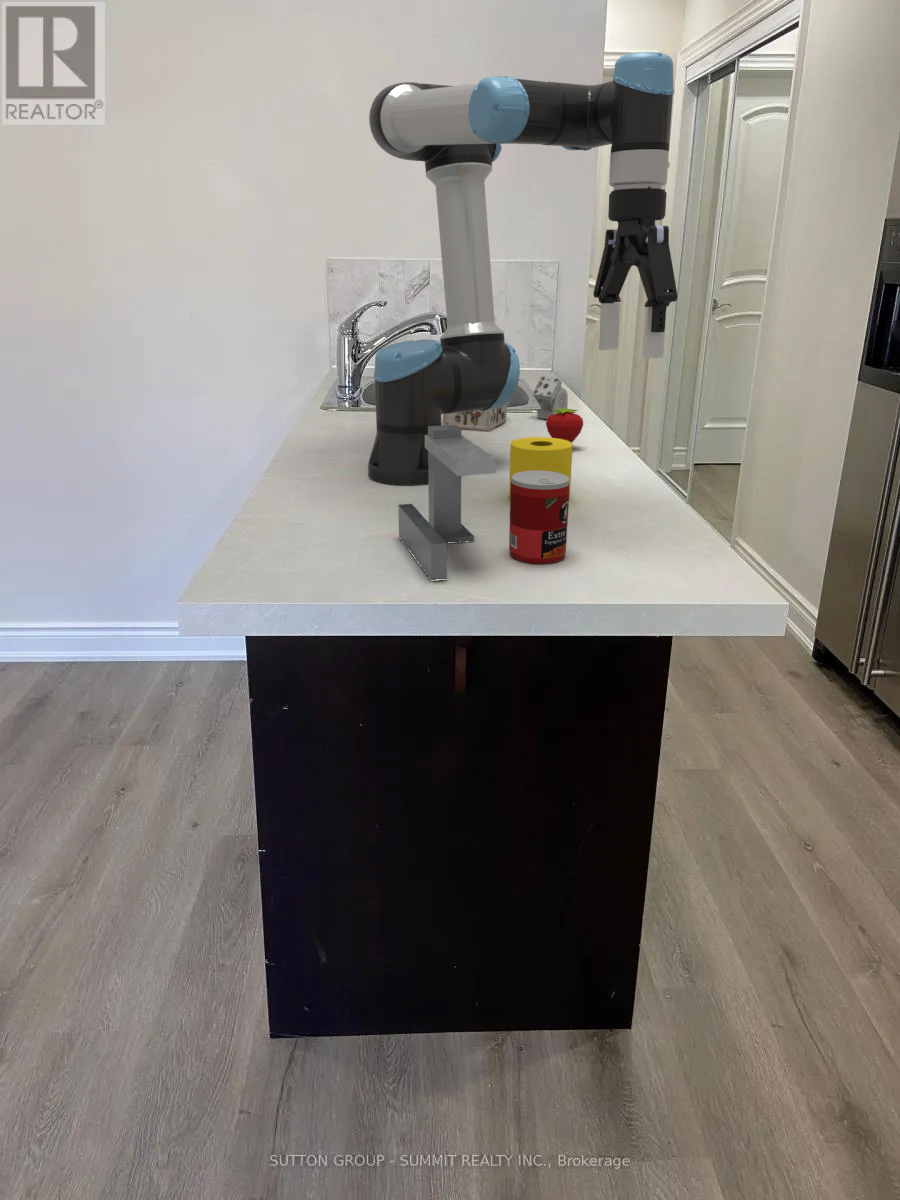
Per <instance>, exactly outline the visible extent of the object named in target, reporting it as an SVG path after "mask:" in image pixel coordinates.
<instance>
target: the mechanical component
mask: <svg viewBox="0 0 900 1200" xmlns="http://www.w3.org/2000/svg"><path fill="white" fill-rule="evenodd" d="M562 385H563V382H562V380H561V378H560V377H554V376H545V375H542V376H540V377H539V380H538V381H537V383H536V385H535V387H534V388H533V390H532V392H531V394H532V396H533V398H534V399H535V401H536V402H537V403H538V405H539V406H540V409H538V410H537V411H536V412H537V413H536V414H537V415H536V417H537V418H539V419H546V420H547V418H548V417H549V416H550V415H551V414H555V413H557V411H552V410H555V409H562V405H563V408H565V409H568V406H569V405H568V402H569V399H568V392H567V390H566V389H565V388H563V387H562ZM564 401H565V402H564ZM563 403H564V404H563Z"/></svg>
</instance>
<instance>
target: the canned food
mask: <svg viewBox="0 0 900 1200" xmlns="http://www.w3.org/2000/svg"><path fill="white" fill-rule="evenodd" d="M569 485H570V486H571V484H570V482H569V477H568V476H566V475H564V474H561V473H557V472H552V471H540V470H533V471H523V472H518V473H515V474H513V475H512V477H511V488H510V500H509V534H508V535H509V538H508V539H509V542H508V544H509V545H508V549H509V554H510V555H511V557H512V558H514V559H515V560H517V561H519V562H522V563H526V562H527V563H526V564H533V565H536V564H537V565H547V564H549V565H550V564H554V563H557V562H559V561H561V560H564V558H565V556H566V552H567V541H568V525H569V524H568V523H569V522H568V521H569V507H570V506H569V505H570V502H569Z"/></svg>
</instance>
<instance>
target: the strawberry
mask: <svg viewBox="0 0 900 1200" xmlns="http://www.w3.org/2000/svg"><path fill="white" fill-rule="evenodd" d="M564 402H565V401H564ZM563 404H564V403H563ZM552 411H557V413H555V414H551V415H550V416H549V417H548V418H547V419H546V421H545V426H546V429H547V432H548V434H549V436H550V438H558V439H563V440H567V441H569V442H571V443H572V444H573V442H574V441H575V440H576V439H577V437H578V436H580V434H581V431H582V429H583V426H584V420H583V418H582V416H581V415H579V414H577V411H579V410H578V409H572V408H567V409H565V408H563V405H562V409H555V410H552Z"/></svg>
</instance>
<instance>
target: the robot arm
mask: <svg viewBox="0 0 900 1200" xmlns="http://www.w3.org/2000/svg"><path fill="white" fill-rule="evenodd" d="M674 94H675V89H674V61H673V59H672V57H671V56H670V55H668V54H666V53H663V52H657V51H656V52H655V51H644V52H643V51H641V52H640V51H639V52H632V53H627V54H625V55H622V56H621V55H620V56H619V58H617V60H616V61H615V63H614V69H613V74H612V80H611V81H608V82H603V83H598V84H591V85H590V84H589V85H588V84H587V85H586V84H577V83H569V82H568V83H567V82H555V81H554V82H553V81H543V80H541V81H540V80H534V79H533V80H532V79H523V78H522V79H521V78H515V77H512V76H502V75H501V76H487V77H484V78H482V79H480V80H479V82H477V83H470V84H461V85H448V84H447V85H444V84H443V85H442V84H434V83H433V84H432V83H431V84H430V83H419V82H414V81H412V82H410V81H407V82H398V83H394V84H391V85H388V86H386V87H385V88H383V89H382V90H381V91H379V93H378V94H377V95H376V96H375V98H374V100H373V101H372V103H371V106H370V109H369V115H368V120H369V121H368V124H369V128H370V129H369V130H370V132H371V135H372V137H373V139H374V141H375V142H376V144H377V145H378V146H379V147H380V148H381V150H383V151H385V152H386V153H387V154H388V155H390V156H391V157H395V158H397V159H401V160H404V161H414V162H424V166H425V167H424V168H425V176H426V179H428V180H429V181H430V182H431V183H432V184H433V185H434V186H435V193H436V206H437V207H436V209H437V219H438V220H437V221H438V230H439V243H440V254H441V266H442V267H441V268H442V277H443V279H442V280H443V290H444V303H445V313H446V314H445V315H446V325H447V327H446V330H445V331H444V333H442V334H441V336H440V337H439V340H440V341H439V340H436V339H417V340H414V339H412V340H405V341H401V342H396V343H391V344H388V345H386V346H383V347H381V348H380V349H379V350H378V351H377V353H376V354H375V356H374V357H375V358H374V371H373V372H374V373H373V379H374V394H375V418H376V421H375V422H376V423H375V424H376V432H375V433H376V435H375V439H374V442H373V445H372V448H371V452H370V455H369V459H368V462H367V463H368V464H367V473H368V474H367V475H368V477H369V479H371V480H373V481H375V482H378V483H383V484H389V485H398V486H400V485H402V486H407V485H408V486H412V485H416V486H417V485H427V484H428V485H429V481H428V450H427V449H426V448H425V435H428V426H442V415H443V414H449V413H459V412H469V411H486V410H489V409H493V408H499V407H502V406H504V405H505V404H507V405H508V403H509V402H510V400H512V398H513V396H514V395H515V393H516V391H517V387H518V385H519V380H520V374H521V373H520V372H521V370H520V369H521V368H520V367H521V365H520V358H519V355H518V354H517V353H516V352H517V351H516V349H515V347H514V346H513V345H512V344H509V343H507V342H506V341H505V331H504V330H503V329H501V328H500V327H499V326H498V325H497V324H496V322H495V310H494V305H495V304H494V293H493V282H492V279H493V278H492V266H491V265H492V264H491V253H490V252H491V251H490V239H489V227H488V213H487V212H488V211H487V200H486V198H487V197H486V187H485V186H486V185H485V181H486V179H487V178H488V176H489V175H490V174H491V173H492V171H493V163H494V162H495V161H497V159H498V158H499V156H500V155H501V152H502V148H503V147H502V144H503V145H504V144H505V145H508V144H513V145H515V144H516V145H517V144H518V145H520V144H521V145H543V146H554V147H555V146H556V147H558V146H559V147H562V148H564V149H565V150H567V151H584V152H585V151H590V150H591V149H594V148H597V147H604V146H607V145H611V146H610V156H609V157H610V158H609V160H610V161H609V180H608V181H609V183H608V184H609V186H610V187H612V189H613V190H612V191H610V193H609V194H608V195H609V196H608V215H607V217H608V219H609V221H611V222H617V224H618V225H617V229H615V228H614V229H606V231H605V237H604V248H603V251H602V255H601V259H600V265H599V268H598V273H597V277H596V282H595V284H594V289H593V297H594V299H598V302H599V303H600V318H599V341H598V344H599V345H598V350H599V351H610V350H611V351H612V350H613V351H615V350H619V337H620V335H619V333H620V316H621V315H620V312H621V302H622V299H621V297H620V294H621V291H622V290H623V287H624V284H625V282H626V279H627V277H628V274H629V273H630V269H631V267H633V266H635V267H636V268H637V270H638V273H639V274H638V275H639V277H640V280H641V283H642V286H643V290H644V293H645V295H646V298H647V300H646V302H645V303H644V318H643V319H644V321H643V322H644V323H643V336H642V337H643V338H642V339H643V340H642V356H641V357H642V359H659V358H660V359H661V358H664V350H665V349H664V348H665V334H666V332H665V331H666V319H667V318H666V317H667V316H666V315H667V307H669V306H670V305H671V303H672V302H677V300H678V291H677V285H676V278H675V273H674V265H673V261H672V254H671V250H670V249H671V248H670V228H669V226H668V225H656V221H662V220H663V219H664V218H665V216H666V209H667V208H666V207H667V191H666V189H664V188H663V189H662V187H663V186H666V184H668V171H669V170H668V169H669V167H670V161H669V152H670V139H671V138H670V137H671V126H672V112H673V96H674Z"/></svg>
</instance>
